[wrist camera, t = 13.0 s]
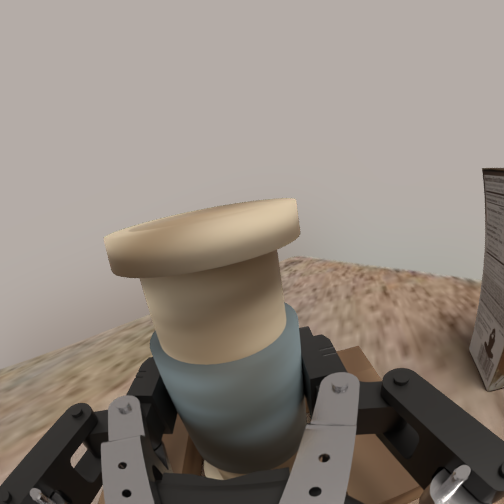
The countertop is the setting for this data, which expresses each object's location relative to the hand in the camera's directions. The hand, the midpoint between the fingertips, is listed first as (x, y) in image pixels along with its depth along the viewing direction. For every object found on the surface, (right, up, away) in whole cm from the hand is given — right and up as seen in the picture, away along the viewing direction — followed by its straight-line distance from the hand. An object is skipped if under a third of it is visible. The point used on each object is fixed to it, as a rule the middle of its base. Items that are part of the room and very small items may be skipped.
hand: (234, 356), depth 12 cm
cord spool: (+1, -8, 0) cm, 8 cm away
